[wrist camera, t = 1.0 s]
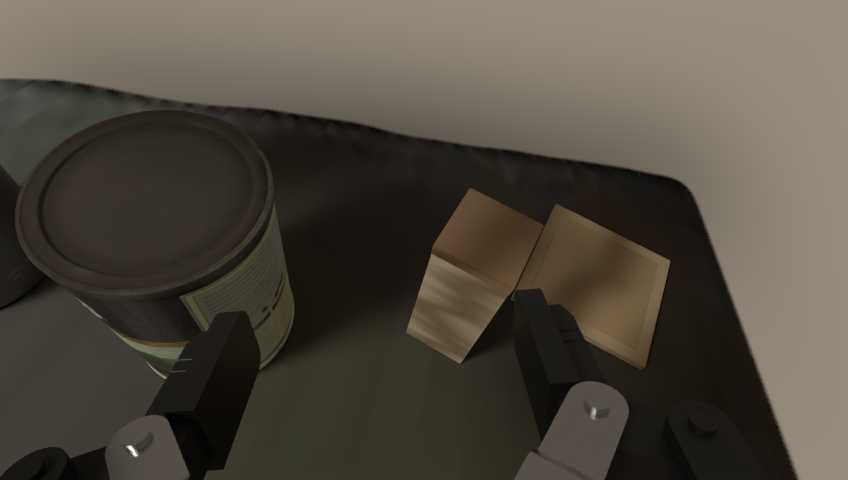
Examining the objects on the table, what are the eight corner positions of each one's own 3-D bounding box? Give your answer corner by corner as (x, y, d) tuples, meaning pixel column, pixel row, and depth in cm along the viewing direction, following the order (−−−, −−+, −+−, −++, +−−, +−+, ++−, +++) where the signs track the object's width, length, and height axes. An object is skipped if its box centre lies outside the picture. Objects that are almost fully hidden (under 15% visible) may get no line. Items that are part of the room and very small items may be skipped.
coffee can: (149, 416, 28) (13, 330, 16) (128, 276, 33) (11, 130, 21) (315, 356, 32) (300, 250, 20) (275, 237, 36) (244, 93, 24)
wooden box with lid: (405, 332, 33) (433, 245, 23) (433, 285, 36) (470, 187, 26) (460, 364, 33) (514, 288, 23) (485, 314, 35) (544, 225, 25)
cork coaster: (510, 299, 36) (513, 295, 36) (553, 207, 42) (556, 202, 42) (640, 370, 35) (645, 367, 34) (666, 264, 41) (671, 260, 40)
